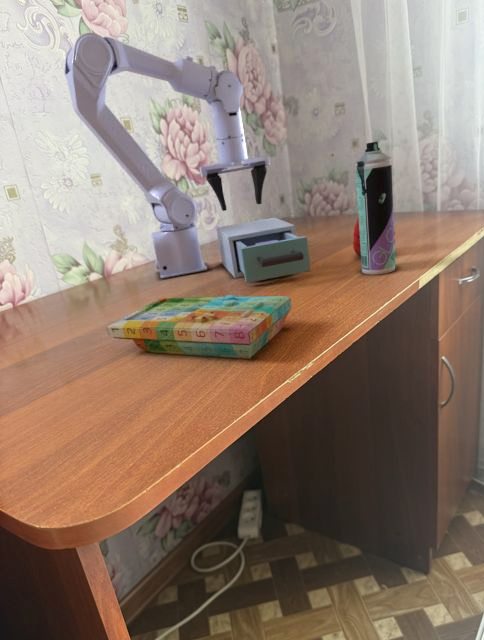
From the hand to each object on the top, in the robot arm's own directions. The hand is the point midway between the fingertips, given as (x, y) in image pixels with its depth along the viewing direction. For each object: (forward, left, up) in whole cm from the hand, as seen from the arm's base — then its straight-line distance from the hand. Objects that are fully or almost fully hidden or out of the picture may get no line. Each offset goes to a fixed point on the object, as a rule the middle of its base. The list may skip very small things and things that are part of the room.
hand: (241, 206), depth 106 cm
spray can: (+16, -32, -11) cm, 37 cm away
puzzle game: (-16, -48, -11) cm, 52 cm away
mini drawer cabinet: (0, -11, -10) cm, 15 cm away
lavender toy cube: (0, -23, -8) cm, 24 cm away
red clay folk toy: (+20, -22, -11) cm, 31 cm away
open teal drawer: (0, -23, -10) cm, 24 cm away
